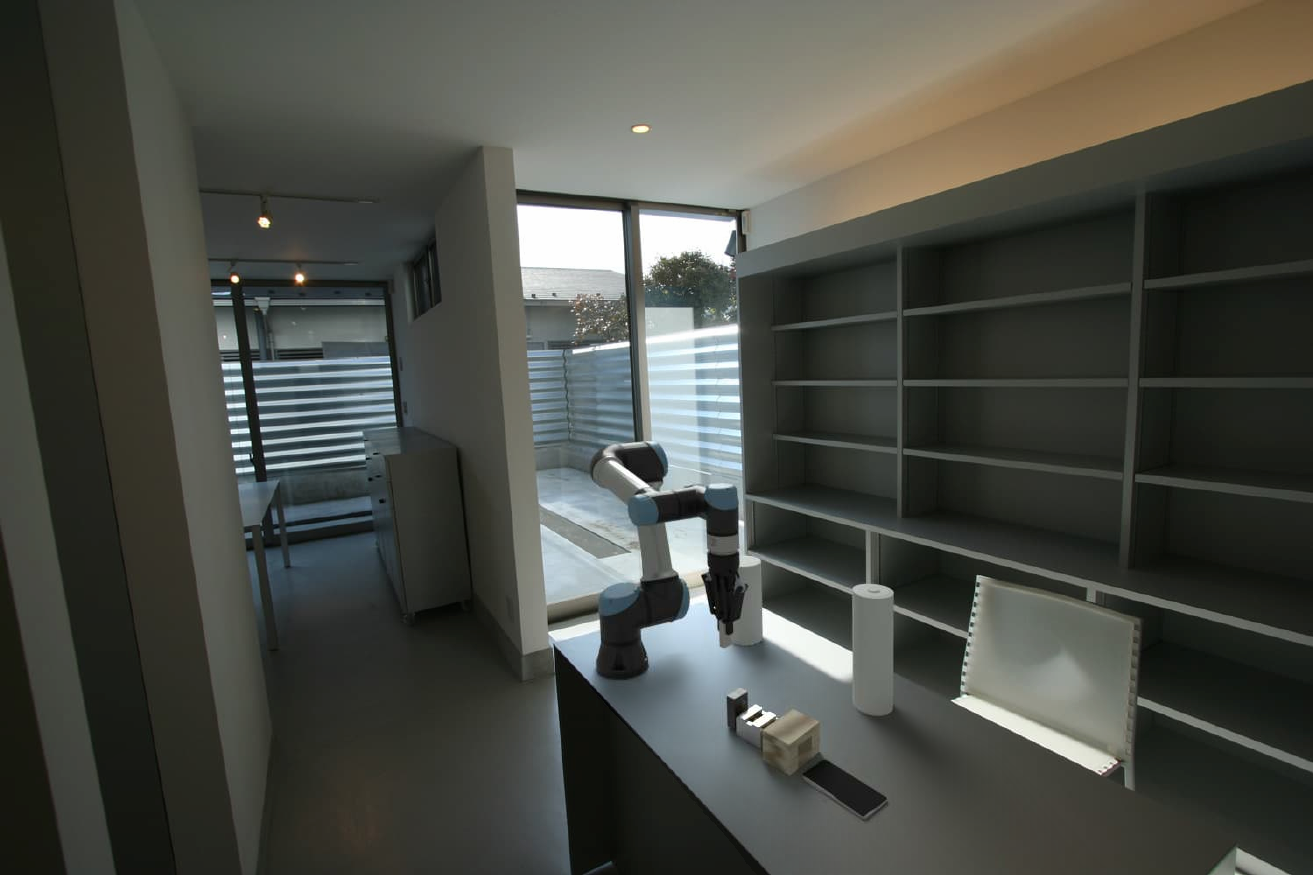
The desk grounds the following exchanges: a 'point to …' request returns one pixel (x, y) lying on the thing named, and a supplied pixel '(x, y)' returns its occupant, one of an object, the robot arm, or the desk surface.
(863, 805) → the smartphone
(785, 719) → the socket
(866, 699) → the cylinder container
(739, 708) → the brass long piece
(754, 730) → the sleeve
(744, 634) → the tall pillar cylinder
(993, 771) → the desk surface
